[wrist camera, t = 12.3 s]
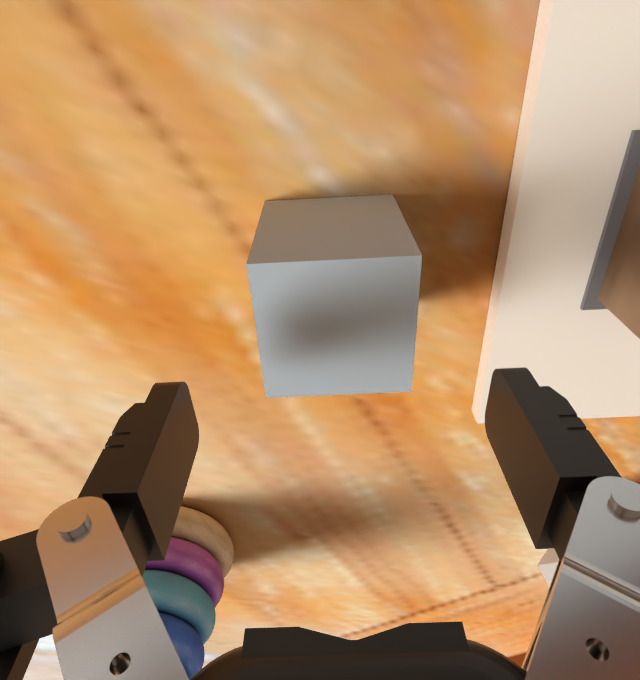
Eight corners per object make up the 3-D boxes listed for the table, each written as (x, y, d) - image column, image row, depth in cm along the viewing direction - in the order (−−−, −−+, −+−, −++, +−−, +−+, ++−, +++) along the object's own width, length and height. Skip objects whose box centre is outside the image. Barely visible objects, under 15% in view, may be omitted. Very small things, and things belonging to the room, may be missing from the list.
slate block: (264, 200, 18) (246, 264, 13) (392, 193, 18) (422, 255, 13) (277, 310, 21) (266, 398, 16) (388, 305, 21) (411, 391, 16)
